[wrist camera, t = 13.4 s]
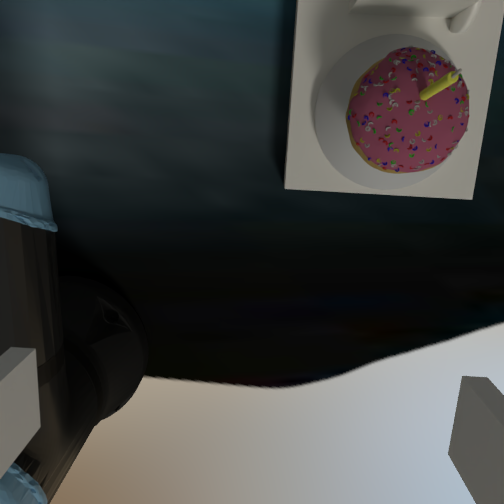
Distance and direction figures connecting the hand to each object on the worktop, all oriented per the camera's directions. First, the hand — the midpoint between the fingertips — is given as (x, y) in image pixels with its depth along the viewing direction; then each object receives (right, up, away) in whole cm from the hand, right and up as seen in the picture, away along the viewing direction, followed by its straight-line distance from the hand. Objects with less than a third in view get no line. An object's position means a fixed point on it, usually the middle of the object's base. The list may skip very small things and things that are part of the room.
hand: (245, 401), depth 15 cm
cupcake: (+11, +16, +24) cm, 30 cm away
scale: (+12, +18, +27) cm, 34 cm away
